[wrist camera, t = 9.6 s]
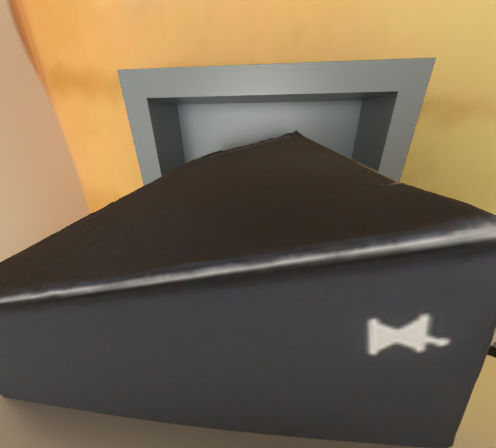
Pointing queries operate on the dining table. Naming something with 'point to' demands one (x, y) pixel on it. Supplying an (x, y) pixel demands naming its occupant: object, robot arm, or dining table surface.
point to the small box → (260, 302)
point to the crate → (276, 109)
